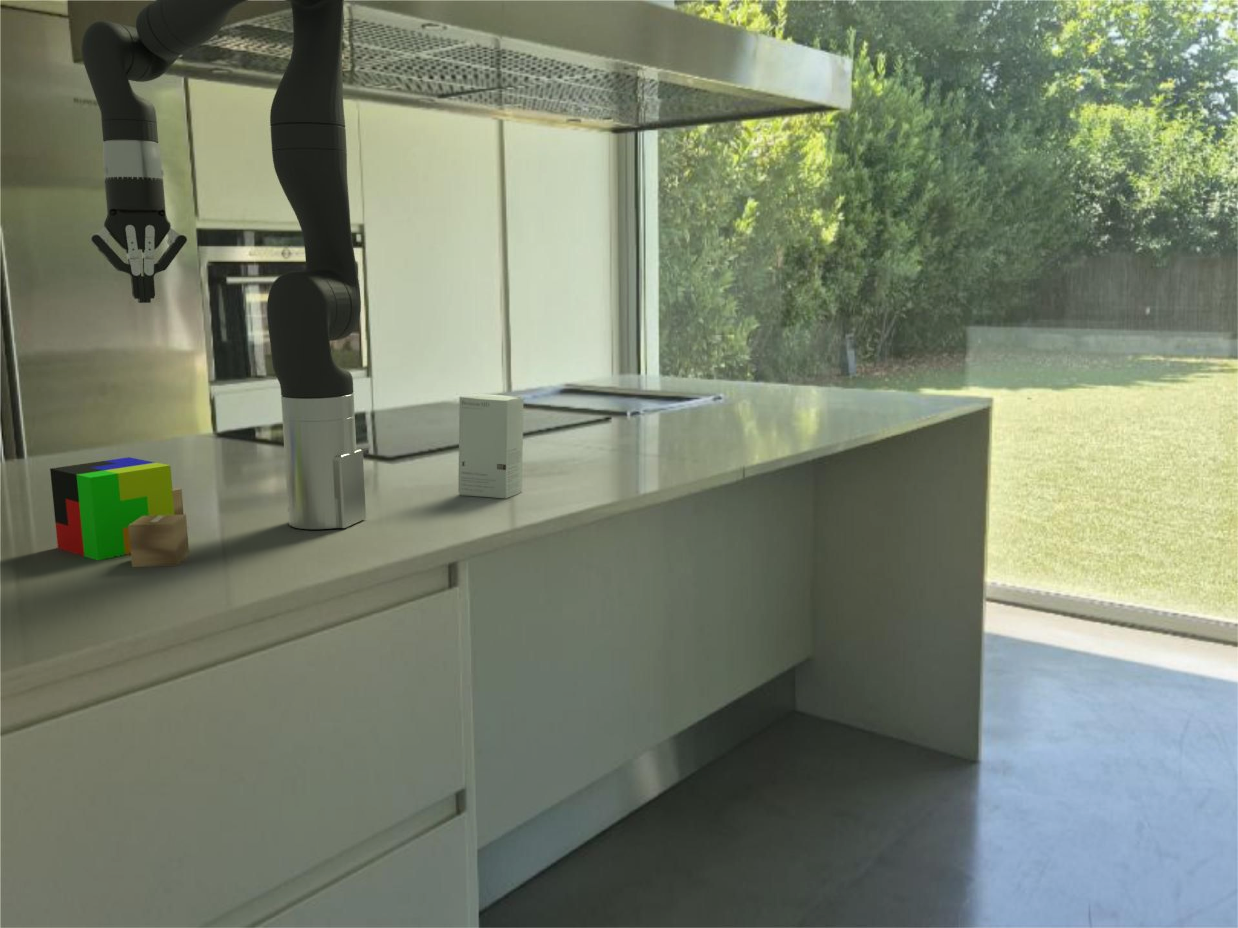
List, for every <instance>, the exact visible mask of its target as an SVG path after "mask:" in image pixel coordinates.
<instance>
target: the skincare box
mask: <svg viewBox="0 0 1238 928" xmlns="http://www.w3.org/2000/svg"><path fill="white" fill-rule="evenodd" d="M458 398H459V403H458V405H459V408H458V410H459V412H458V414H459V418H458V419H459V420H458V425H459V426H458V495H459V496H463V497H464V496H468V497H477V498H478V497H481V498H496V499H509V498H510V497H514V496H516V495H519V494H521V493H522V492H523V456H524V454H523V453H524V452H523V445H524V400H525V398H524V397H522V396H514V395H501V394H488V393H486V394H485V393H475V394H474V393H473V394H467V395H461V396H459V397H458Z"/></svg>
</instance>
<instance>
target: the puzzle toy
mask: <svg viewBox="0 0 1238 928" xmlns="http://www.w3.org/2000/svg"><path fill="white" fill-rule="evenodd" d="M49 470H50V480H51V491H52V500H53V501H52V502H53V512H54V523H55V531H56V544H57V548H58V549H60V550H63V551H66V552H67V551H68V552H70V553H73V554H77V555H80V556H83V557H86V558H89V559H93V560H96V561H101V560H106V559H105V558H107V559H110V558H115V557H114V556H117V557H119V556H120V555H121V556H125V555H124V554H126V555H130V554H129V553H131V550H130V539H129V527H128V525H130V524H131V523H133V522H134V521H136V520H137V519H139V518H140V517H142V516H152V515H174V504H173V491H172V488H173V481H172V469H171V464H165V463H160V462H155V461H150V460H144V459H139V458H136V457H130V456H129V457H128V456H127V457H122V458H115V459H109V460H107V459H106V460H101V461H94V462H88V463H81V464H74V465H73V464H72V465H66V466H60V467H59V466H58V467H52V468H49Z"/></svg>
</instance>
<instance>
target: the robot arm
mask: <svg viewBox="0 0 1238 928" xmlns="http://www.w3.org/2000/svg"><path fill="white" fill-rule="evenodd" d="M248 1H249V0H155V1H153V2H151V3H149V4H147V5H146V6H145V7H144V8H143V9H141V10H140V11H139V13H138V14H137V16H136V20H135V26H129V25H126V24H122V23H121V24H120V23H118V22H117V23H116V22H111V21H107V20H97V21H94V22H93V23H91V24H89V26H88V27H87V28H86V30H85V31H84V34H83V36H82V41H81V56H82V57H81V58H82V61H83V64H84V65H83V66H84V69H85V71H86V74H87V77H88V80H89V82H90V85H91V88H92V91H93V94H94V97H95V99H96V101H97V102H96V103H97V104H98V108H99V111H100V116H101V117H100V118H101V129H102V143H103V146H102V147H103V149H102V150H103V152H102V165H103V166H102V167H103V176H104V179H103V180H104V188H105V189H104V190H105V191H104V192H105V203H106V210H107V211H106V212H107V215H106V218H105V220H104V224H103V226H104V228H102V229H101V230H99V231H98V232H97V233H96V234H93V235H91V236H90V237H89V241H90V242H91V244H92V245H93V246H94V247H95V248H96V249H97V250H98V251H99V252H100V253H101V255H103V257H104V258H105V259H106V260H107V261H108V262H109V263H110V264H111V265H112V267H114V268H115V270H116V271H118V272H122V273H124V274H127V275H129V276H130V284H131V293H132V295H131V296H132V297H133V299H134V300H136V299H137V303H138V304H151V301H152V300H151V299H155V297H156V288H155V275H156V274H158V273H160V272H164V271H166V270H167V268H168V267H169V266H170V265H171V263H172V262H173V261H174V260H175V258H176V257H177V255H178V253H180V251H181V249H182V248H183V247H184V246H185V244H186V243H187V242H188V238H187V236H186V235H184V234H180V233H178V232H177V231H176V230H175V229H173V228H171V227H172V226H171V222H170V220H169V219H168V217H167V211H166V210H167V209H166V200H165V199H166V198H165V188H164V187H165V185H164V169H163V162H162V155H161V152H160V147H159V133H158V121H157V113H156V108H155V106H154V104H153V103H152V102H150V101H149V100H147V99H146V98H144V97H141V96H139V95H138V94H137V93H135V92H134V90H133V88H132V85H131V83H130V81H132V82H137V83H138V82H139V83H140V82H141V83H144V82H150V81H154V80H156V79H158V78H160V77H162V76H163V75H164V74H165V73H166V72H167V71H168V70H169V69H170V67H172V65H173V64H175V62H176V61H177V60H178V58H179V57H180V56H181V55H183V54H186V53H187V52H190V51H192V50H193V49H195V48H197V47H199V46H201V45H202V44H205V43H206V42H208V41H210V40H211V39H212V38H214V37H215V36H216V35H217V34H218V33H219V32H220V31H221V29H222V28H223V26H224V25H225V23H226V21H227V19H228V16H229V14H231V12H232V10H234V9H235V7H237V6H239V5H240V4H242V3H245V2H248ZM284 1H286V2H289V3H290V5H291V12H292V25H293V26H292V29H293V40H292V51H291V55H290V60H289V61H288V64H287V67H286V68H285V72H284V73H283V76H282V77H281V80H280V81H279V85H278V86H277V89H276V91H275V94H274V97H273V99H272V103H271V106H270V112H269V113H270V116H269V117H270V118H269V121H270V123H269V125H270V139H271V140H270V141H271V155H272V162H273V163H272V164H273V167H274V171H275V174H276V176H277V179H278V181H279V184H280V186H281V189H282V190H283V192H284V195H285V197H286V198H287V200H288V203H289V204H290V207H291V209H292V210H293V212H294V214H295V216H296V218H297V221H298V224H299V227H300V228H301V230H300V231H301V233H302V238H303V245H304V246H303V247H304V255H305V270H295V271H287V272H285V273H282V274H281V275H279V276H278V277H277V278H276V279H275V280H274V282H273V283H272V284H271V287H270V289H269V292H268V295H267V296H268V297H267V303H266V313H267V314H266V317H267V328H268V337H269V344H270V354H271V361H272V367H273V372H274V374H275V377H276V378H277V381H278V383H279V386H280V395H281V396H280V398H281V399H280V401H281V415H282V417H281V418H282V433H283V447H284V449H283V450H284V463H285V466H284V467H285V481H286V484H285V485H286V497H287V512H288V524H289V526H290V527H292V528H296V529H300V530H301V529H302V530H329V529H345V528H349V527H350V526H353V525H354V524H357V523H359V522H361V521H363V520H366V519H367V511H366V510H367V509H366V489H365V487H366V486H365V470H364V469H365V468H364V451H363V450H362V449H360V448H357V439H356V436H357V435H356V419H355V418H356V416H355V415H356V414H355V413H356V412H355V395H354V392H355V391H354V379H353V375H352V373H351V372H350V371H349V370H348V369H347V370H346V369H345V368H343V367H341V366H340V365H338V364H337V363H336V362H335V360H334V358H333V356H332V348H331V342H333V341H339V340H343V339H345V338H347V337H349V336H350V335H351V334H353V332H354V331H355V329H356V328H357V326H358V325H359V321H360V317H361V311H362V310H361V309H362V301H361V298H362V297H361V288H360V281H359V276H358V275H359V274H358V269H357V264H356V257H355V249H354V243H353V236H352V235H353V234H352V226H351V210H350V197H349V183H348V160H347V158H348V156H347V155H348V153H347V152H348V150H347V149H348V148H347V134H346V133H347V132H346V131H347V130H346V120H345V111H344V109H345V108H344V88H343V87H344V86H343V84H344V82H343V51H342V50H343V47H342V46H343V45H342V44H343V27H344V25H343V23H344V5H345V4H344V3H345V2H344V0H284ZM109 235H110V236H111V238H112V239H113V240H114V241H115V242H116V243H117V244H118V246H119V247H121V249H123V250H125V255H126V260H127V263H125V262H124V261H123V260H122V259H121V258H120V256H119V255H118V254H117V253H116V252H115V251H114V250H113V249H112V248H111V246H110V245H111V243H112V242H111V239H110V237H109ZM166 236H167V239H166V243H167V245H168V247H167V248H166V250H165V251H164V253H163V254H162V255H161V256H160V258H159V259H158V260H157V262H156V263H155V250H156V249H158V248H159V246H160V245H161V244H162V242H163V241H164V239H165V237H166ZM139 250H140V251H141V260H142V261H141V263H142V265H141V264H140V254H139ZM141 266H142V267H141Z"/></svg>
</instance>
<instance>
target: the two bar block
mask: <svg viewBox="0 0 1238 928" xmlns="http://www.w3.org/2000/svg"><path fill="white" fill-rule="evenodd" d="M182 490H183V489H182V488H177V487H172V491H173V504H174V515H185V513H184V505H183V504H184V502H183V491H182Z"/></svg>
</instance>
